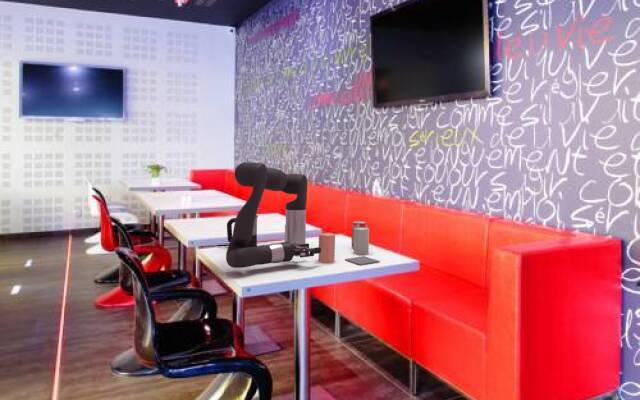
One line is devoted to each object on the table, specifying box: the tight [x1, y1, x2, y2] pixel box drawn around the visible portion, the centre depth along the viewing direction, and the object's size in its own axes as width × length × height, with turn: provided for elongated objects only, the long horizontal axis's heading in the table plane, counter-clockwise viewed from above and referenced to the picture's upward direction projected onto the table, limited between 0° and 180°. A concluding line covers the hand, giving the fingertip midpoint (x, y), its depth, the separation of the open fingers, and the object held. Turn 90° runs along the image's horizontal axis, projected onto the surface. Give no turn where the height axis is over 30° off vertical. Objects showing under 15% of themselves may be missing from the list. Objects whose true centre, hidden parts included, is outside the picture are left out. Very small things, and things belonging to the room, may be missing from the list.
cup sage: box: [353, 227, 370, 256], centre depth 216 cm, size 6×6×11 cm
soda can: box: [351, 220, 368, 249], centre depth 227 cm, size 7×7×12 cm
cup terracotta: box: [318, 232, 336, 264], centre depth 201 cm, size 6×6×11 cm
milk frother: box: [226, 214, 259, 248], centre depth 221 cm, size 14×16×15 cm
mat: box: [344, 255, 381, 267], centre depth 202 cm, size 10×10×1 cm
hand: (314, 248), depth 198 cm, fingers open, 8 cm apart
